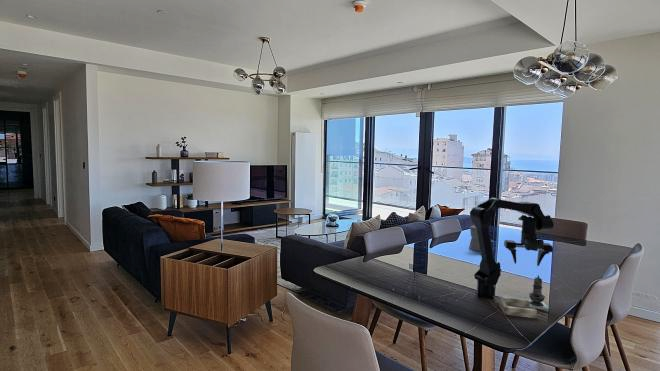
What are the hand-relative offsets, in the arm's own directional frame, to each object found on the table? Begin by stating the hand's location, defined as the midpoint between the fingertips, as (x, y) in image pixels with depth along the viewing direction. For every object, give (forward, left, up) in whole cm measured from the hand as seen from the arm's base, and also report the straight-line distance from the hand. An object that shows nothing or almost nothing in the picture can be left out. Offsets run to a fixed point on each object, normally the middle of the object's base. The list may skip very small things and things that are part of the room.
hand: (526, 264), depth 167 cm
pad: (+1, -14, -13) cm, 19 cm away
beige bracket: (-8, -22, -13) cm, 27 cm away
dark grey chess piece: (+1, -14, -13) cm, 19 cm away
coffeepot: (-9, +80, -13) cm, 81 cm away
